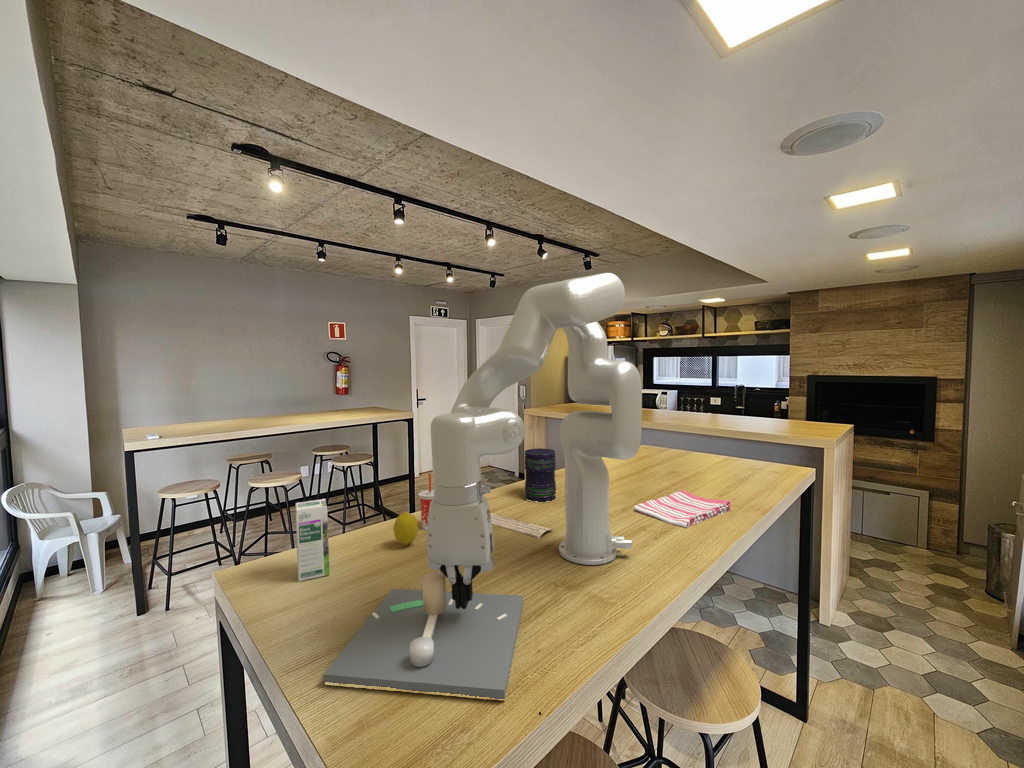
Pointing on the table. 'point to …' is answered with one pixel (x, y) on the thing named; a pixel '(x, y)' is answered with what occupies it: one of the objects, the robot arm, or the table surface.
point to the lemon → (405, 528)
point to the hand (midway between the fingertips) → (462, 603)
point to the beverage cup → (425, 503)
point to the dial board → (457, 646)
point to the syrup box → (312, 539)
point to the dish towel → (683, 508)
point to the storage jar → (540, 475)
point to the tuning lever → (429, 618)
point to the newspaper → (518, 526)
